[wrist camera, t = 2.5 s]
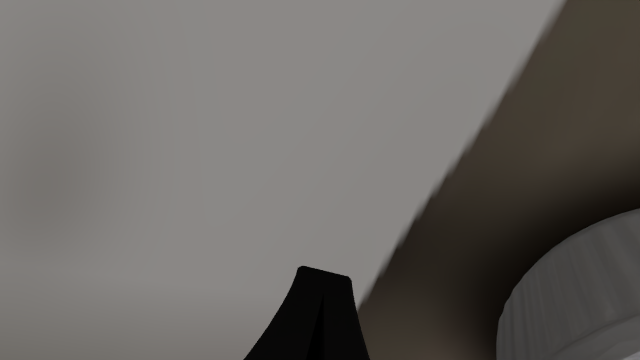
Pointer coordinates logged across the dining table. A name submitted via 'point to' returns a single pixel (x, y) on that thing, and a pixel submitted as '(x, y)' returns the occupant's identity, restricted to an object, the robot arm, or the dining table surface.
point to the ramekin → (579, 298)
